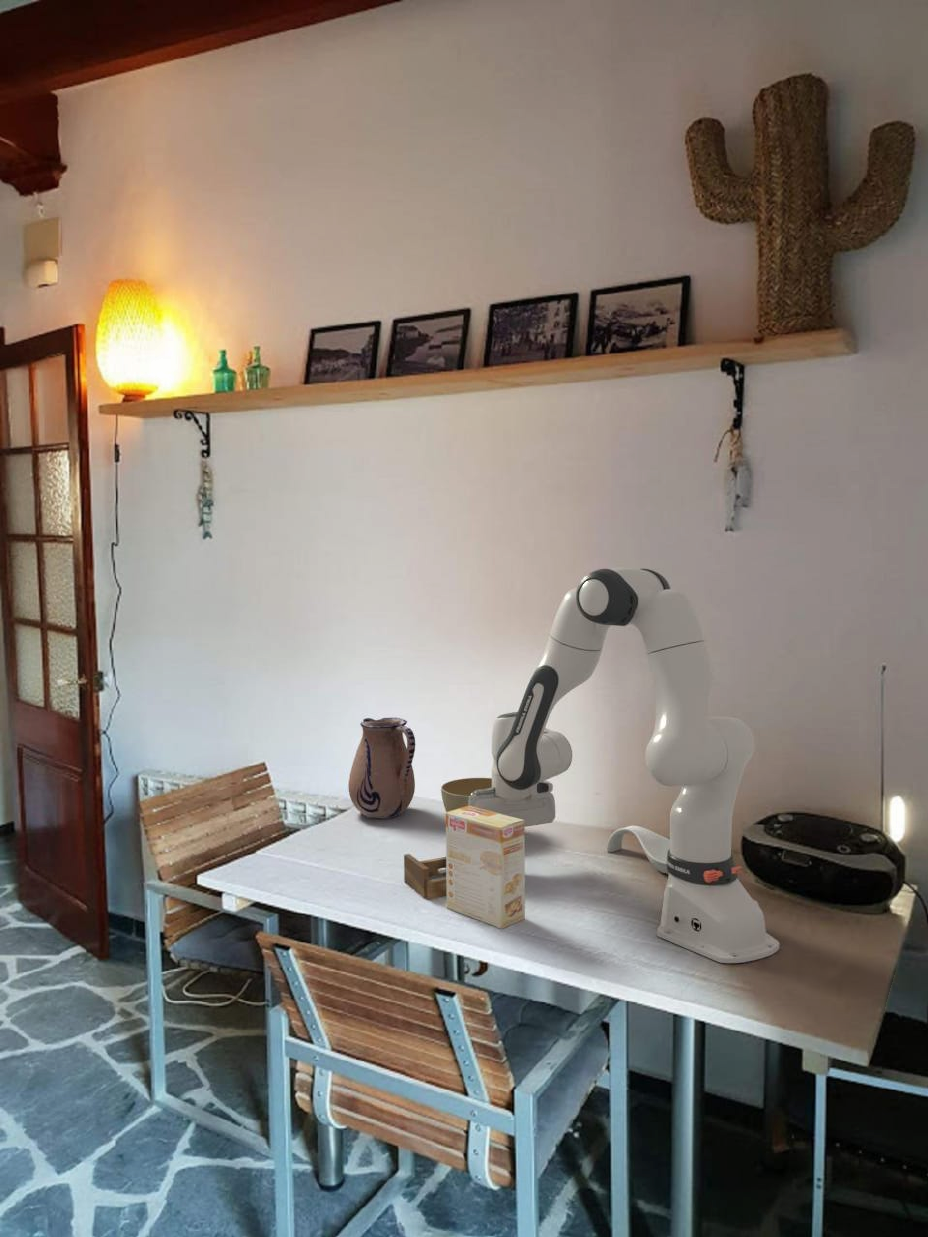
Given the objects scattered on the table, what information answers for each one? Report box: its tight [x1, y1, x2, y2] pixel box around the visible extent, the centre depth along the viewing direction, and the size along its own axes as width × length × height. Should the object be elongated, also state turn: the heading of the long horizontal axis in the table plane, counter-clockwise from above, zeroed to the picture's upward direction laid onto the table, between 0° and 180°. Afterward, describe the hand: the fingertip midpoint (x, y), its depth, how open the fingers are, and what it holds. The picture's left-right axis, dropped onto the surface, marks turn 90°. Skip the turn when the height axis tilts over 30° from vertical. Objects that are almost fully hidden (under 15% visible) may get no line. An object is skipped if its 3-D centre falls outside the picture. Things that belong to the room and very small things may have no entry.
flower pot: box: [440, 777, 492, 813], centre depth 232 cm, size 18×18×12 cm
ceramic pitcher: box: [347, 717, 416, 820], centre depth 248 cm, size 18×21×25 cm
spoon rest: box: [606, 825, 670, 875], centre depth 211 cm, size 24×12×7 cm, turn 41°
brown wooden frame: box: [403, 853, 447, 901], centre depth 201 cm, size 21×12×6 cm, turn 117°
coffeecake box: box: [445, 806, 526, 930], centre depth 183 cm, size 15×7×20 cm, turn 45°
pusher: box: [438, 868, 446, 874], centre depth 200 cm, size 5×9×5 cm, turn 27°
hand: (511, 847), depth 207 cm, fingers closed
